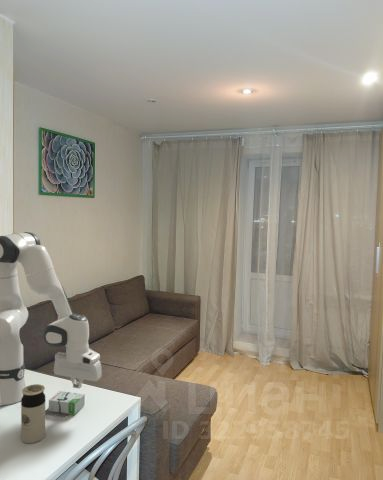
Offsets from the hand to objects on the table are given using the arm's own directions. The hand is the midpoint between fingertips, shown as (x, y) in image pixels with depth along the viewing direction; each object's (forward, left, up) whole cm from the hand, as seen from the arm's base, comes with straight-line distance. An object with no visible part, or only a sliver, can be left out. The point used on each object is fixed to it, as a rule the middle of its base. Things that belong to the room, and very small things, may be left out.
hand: (77, 387), depth 154 cm
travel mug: (-5, -21, -10) cm, 23 cm away
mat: (-6, 0, -10) cm, 12 cm away
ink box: (+2, 0, -7) cm, 7 cm away
